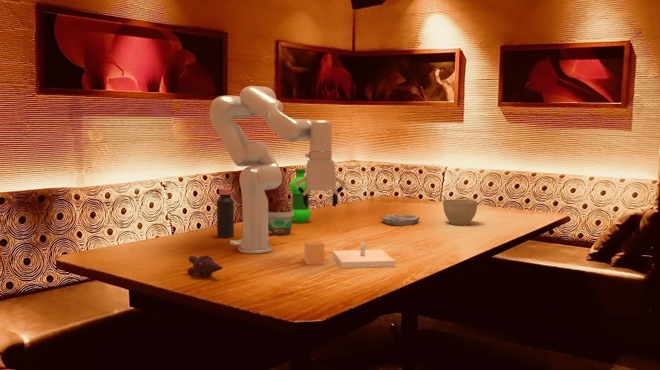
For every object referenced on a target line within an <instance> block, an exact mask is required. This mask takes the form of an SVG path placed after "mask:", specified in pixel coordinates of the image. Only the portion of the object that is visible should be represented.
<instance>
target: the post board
mask: <svg viewBox="0 0 660 370" xmlns="http://www.w3.org/2000/svg"><path fill="white" fill-rule="evenodd" d="M332 258H333V259H334V260H335V261H336V262H337V264H338V266H340V268H341V269H355V268H360V269H361V268H386V267H387V268H390V267H391V268H392V267H396V266H395V262H396V261H395V260H394V258H392V257H391V256H390V255H389V254H387V253H386V252H385V251H384V250H383V249H366V242H363V241H362V242H360V249H358V250H357V249H356V250H355V249H354V250H353V249H349V250H332Z"/></svg>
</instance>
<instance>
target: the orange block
mask: <svg viewBox="0 0 660 370" xmlns="http://www.w3.org/2000/svg"><path fill="white" fill-rule="evenodd" d="M303 249H304V258H303V259H304V263H305V265H306V266H308V265H311V266H312V265H313V266H315V265H316V266H317V265H325V243H324V241H323V240H304V248H303Z"/></svg>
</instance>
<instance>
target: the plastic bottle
mask: <svg viewBox="0 0 660 370" xmlns="http://www.w3.org/2000/svg"><path fill="white" fill-rule="evenodd" d="M295 173H296V174H297V175H296V177H295V178H294V179H293V180H291V182H290V183H289V192H291V210H290V212H291V211H292V210H293V213H294V216H292V221H294V223H296V222H298V223H297V224H303V222H305V223H307V222H308V221H309V220H310V218H311V216H312V212H311V209H310V193H311V192H312V190H310V191H309V192H308V193H307V195H308V207H305V204H303V194H302V193H301V192H300V191H299V190H298V188H297V186H296V185H295V182H296V181H298V180H300V179H302V178H304V177H305V174H306V168H296V169H295ZM300 186H301V188H302V189H303V190H304V189H305V188H306V185H305V182H303V183H301V184H300Z"/></svg>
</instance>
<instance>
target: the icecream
mask: <svg viewBox="0 0 660 370" xmlns="http://www.w3.org/2000/svg"><path fill="white" fill-rule="evenodd" d="M188 261H189V263H191V264H192V267H189V268H188V269H187V272H186V273H188V274H189V275H195V274H196V276H199V277H201V278H204V279H205V278H208V277H211V276H212V274H213V273H215V272H217V271H221V270H223V267H222V266H221V265H219V264H218V263H216V262H215V261H214V259H213V257H211V256H209V255H206V254H205V255H203V256H202V255H201V256H199V257H197V255H195V256H194V255H191V256H189V257H188Z"/></svg>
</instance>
